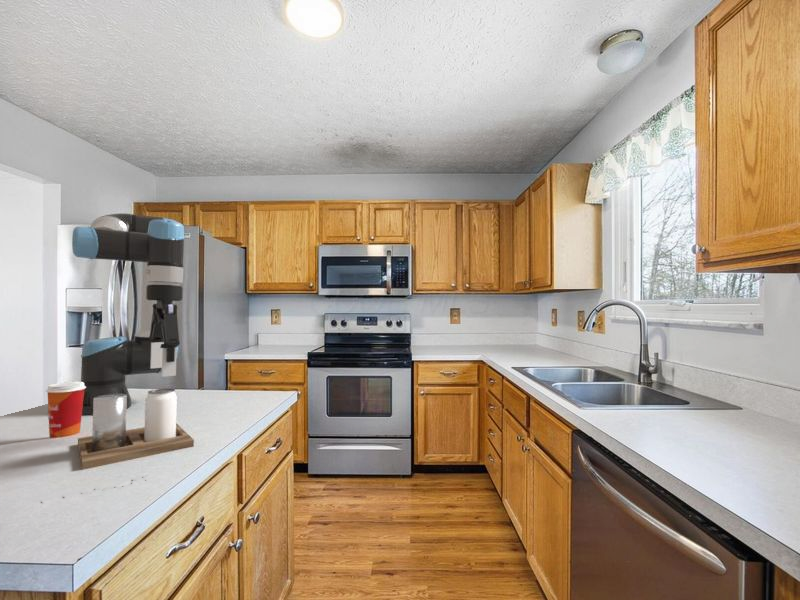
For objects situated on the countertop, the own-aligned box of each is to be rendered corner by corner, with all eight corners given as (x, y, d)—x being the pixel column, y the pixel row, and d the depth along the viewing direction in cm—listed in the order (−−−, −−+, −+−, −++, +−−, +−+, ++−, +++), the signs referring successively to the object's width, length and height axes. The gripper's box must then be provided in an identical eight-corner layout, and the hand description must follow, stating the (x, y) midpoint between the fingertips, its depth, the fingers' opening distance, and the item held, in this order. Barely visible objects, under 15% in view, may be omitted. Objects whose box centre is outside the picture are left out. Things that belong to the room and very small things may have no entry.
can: (137, 444, 90) (139, 393, 90) (155, 435, 96) (157, 387, 96) (164, 445, 89) (166, 393, 90) (181, 436, 96) (182, 388, 96)
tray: (77, 451, 89) (77, 438, 89) (175, 433, 103) (175, 422, 103) (82, 477, 76) (82, 461, 76) (193, 452, 89) (193, 439, 89)
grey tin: (90, 450, 86) (92, 396, 86) (123, 444, 90) (124, 392, 90) (92, 458, 82) (94, 401, 82) (127, 451, 86) (128, 397, 86)
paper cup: (45, 438, 97) (47, 383, 98) (84, 432, 102) (86, 380, 102) (42, 447, 91) (45, 388, 92) (84, 440, 96) (86, 384, 96)
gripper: (138, 284, 100) (135, 366, 100) (157, 282, 82) (154, 381, 81) (170, 286, 105) (168, 363, 105) (196, 284, 87) (193, 377, 87)
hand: (162, 371), depth 93 cm, fingers open, 13 cm apart
